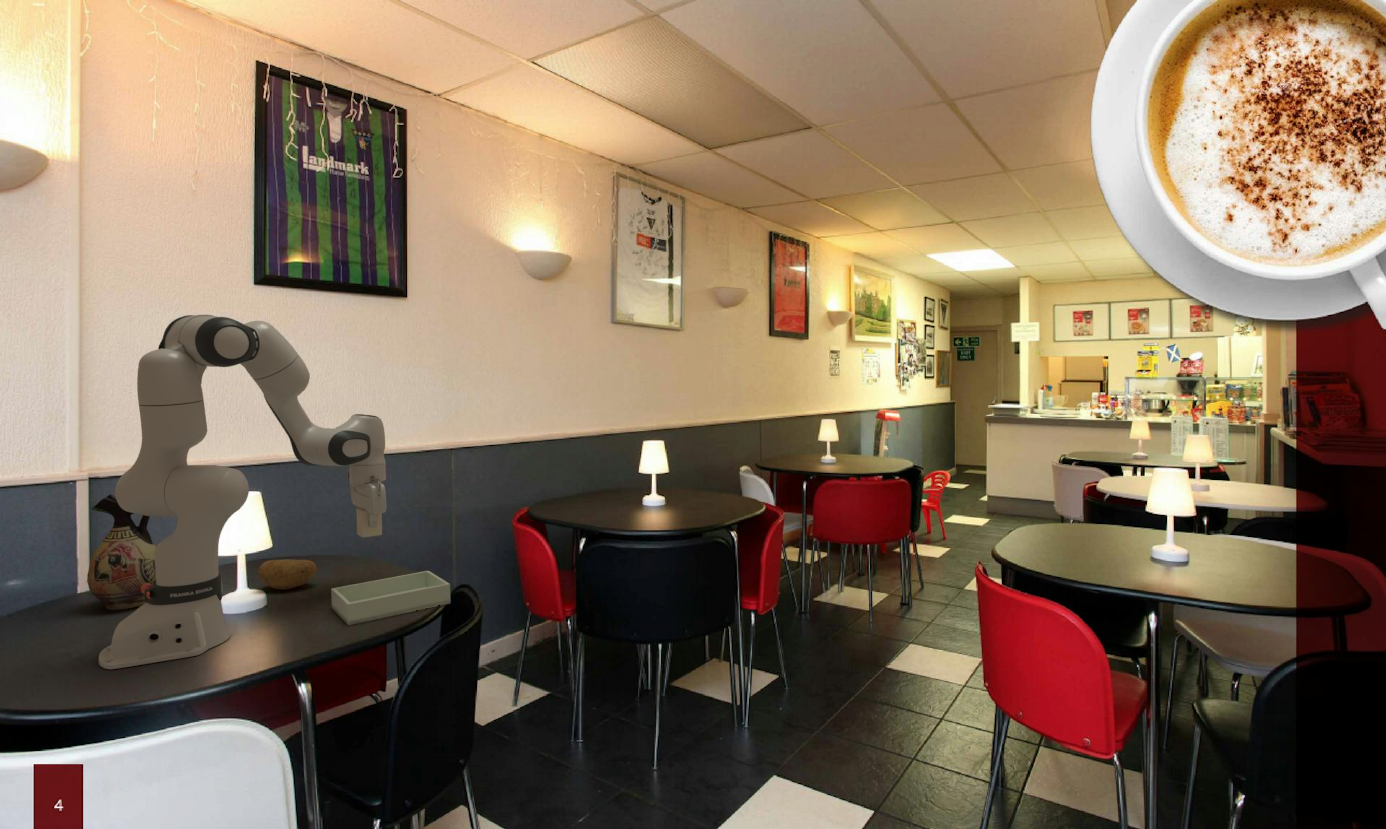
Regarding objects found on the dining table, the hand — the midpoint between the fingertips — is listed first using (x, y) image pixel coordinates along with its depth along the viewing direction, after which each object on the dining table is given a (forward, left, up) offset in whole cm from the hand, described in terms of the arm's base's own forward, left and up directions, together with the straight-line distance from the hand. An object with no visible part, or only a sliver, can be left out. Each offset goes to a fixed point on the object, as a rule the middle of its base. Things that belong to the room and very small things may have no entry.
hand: (369, 525), depth 188 cm
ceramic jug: (-50, +27, -18) cm, 59 cm away
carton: (0, 0, -2) cm, 2 cm away
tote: (0, -17, -18) cm, 24 cm away
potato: (-17, +16, -18) cm, 29 cm away
